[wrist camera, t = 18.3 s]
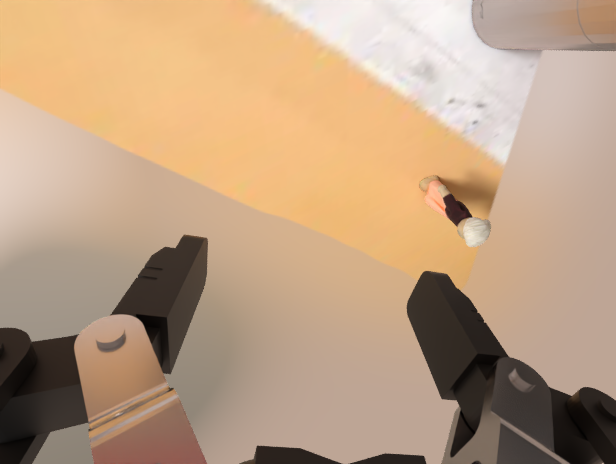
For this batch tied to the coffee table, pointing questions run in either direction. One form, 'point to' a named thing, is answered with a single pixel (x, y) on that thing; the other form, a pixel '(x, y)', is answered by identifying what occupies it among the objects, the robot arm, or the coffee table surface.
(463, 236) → the grandmother figurine
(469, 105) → the coffee table surface
